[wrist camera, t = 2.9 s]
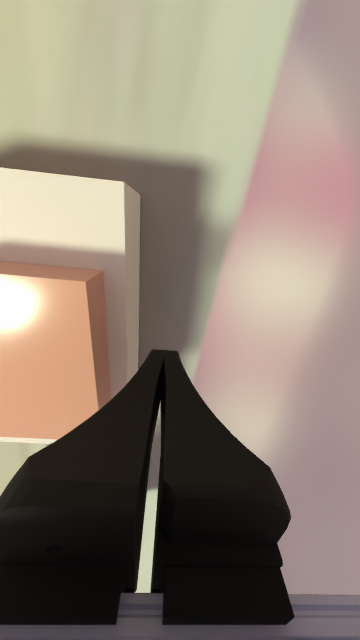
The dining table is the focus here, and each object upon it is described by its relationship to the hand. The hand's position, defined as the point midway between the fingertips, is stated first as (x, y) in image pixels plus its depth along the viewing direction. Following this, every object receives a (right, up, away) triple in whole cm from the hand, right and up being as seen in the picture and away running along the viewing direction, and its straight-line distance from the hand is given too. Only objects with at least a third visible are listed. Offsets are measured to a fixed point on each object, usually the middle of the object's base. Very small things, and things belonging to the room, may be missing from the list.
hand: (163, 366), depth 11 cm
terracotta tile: (-6, +1, 0) cm, 6 cm away
